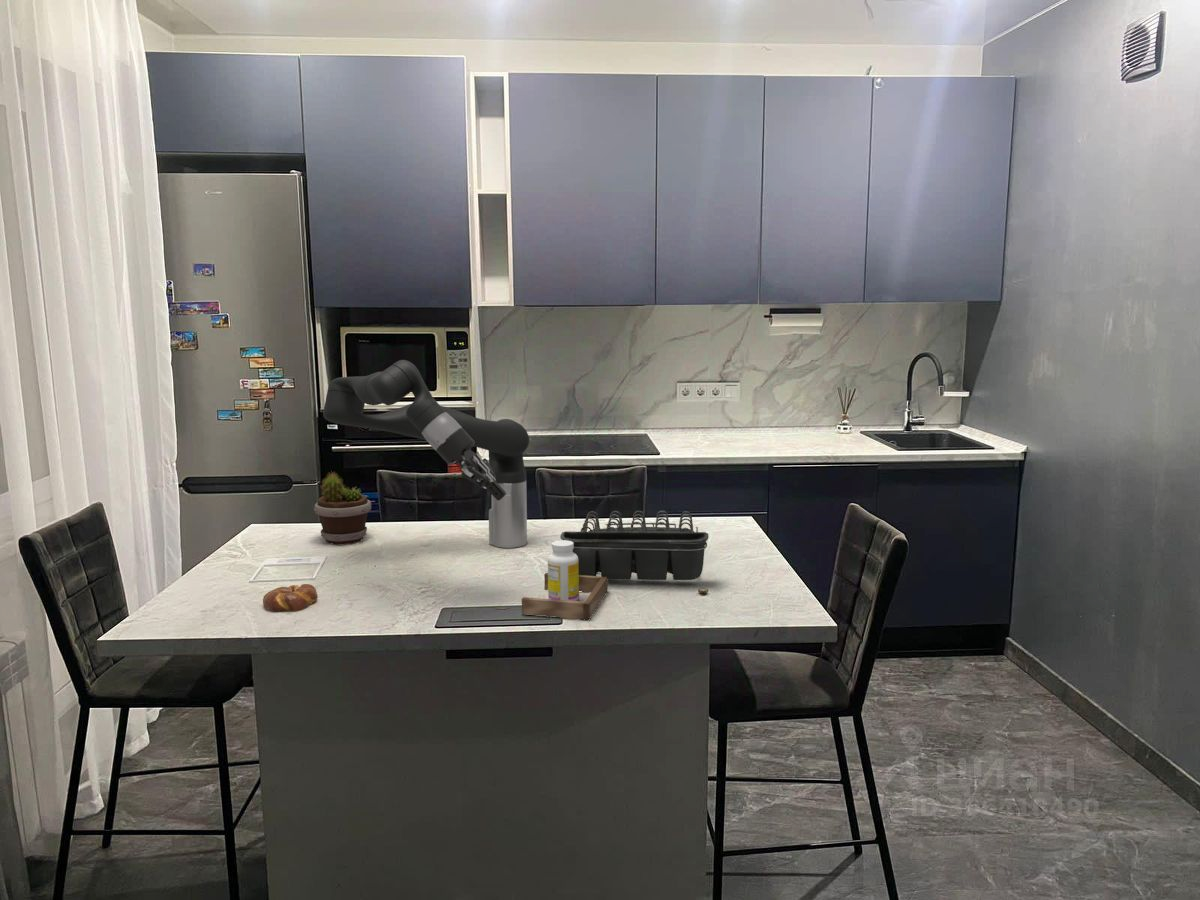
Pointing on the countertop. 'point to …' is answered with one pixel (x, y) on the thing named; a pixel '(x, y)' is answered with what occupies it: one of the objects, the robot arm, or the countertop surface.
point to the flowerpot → (342, 512)
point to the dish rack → (639, 549)
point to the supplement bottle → (563, 572)
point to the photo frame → (290, 563)
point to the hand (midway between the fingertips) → (502, 497)
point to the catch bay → (569, 608)
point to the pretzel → (290, 598)
